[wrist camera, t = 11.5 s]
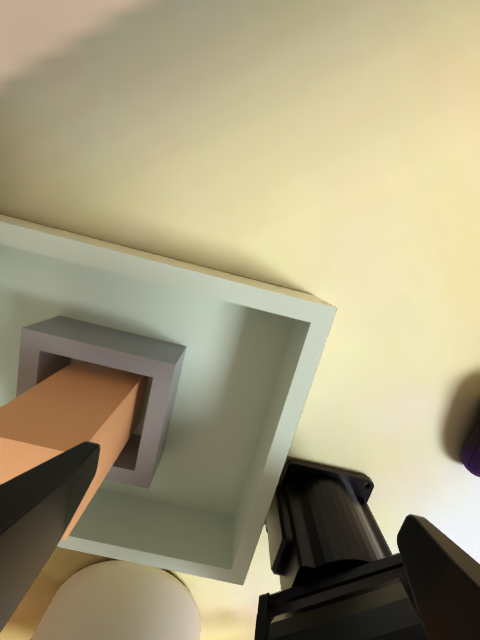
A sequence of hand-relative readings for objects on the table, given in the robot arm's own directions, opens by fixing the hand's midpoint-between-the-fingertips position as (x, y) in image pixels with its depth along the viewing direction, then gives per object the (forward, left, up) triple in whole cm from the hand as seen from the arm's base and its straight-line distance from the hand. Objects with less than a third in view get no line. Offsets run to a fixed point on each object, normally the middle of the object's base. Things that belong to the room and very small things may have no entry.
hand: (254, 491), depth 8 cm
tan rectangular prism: (+8, +4, -10) cm, 13 cm away
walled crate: (+8, +4, -11) cm, 14 cm away
